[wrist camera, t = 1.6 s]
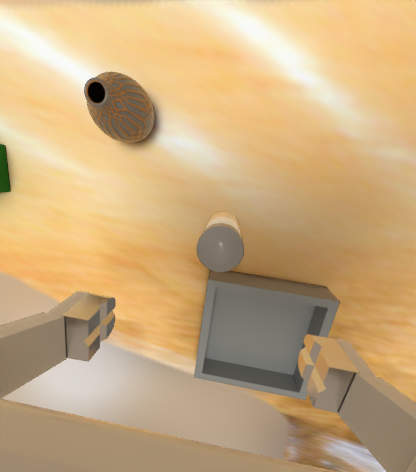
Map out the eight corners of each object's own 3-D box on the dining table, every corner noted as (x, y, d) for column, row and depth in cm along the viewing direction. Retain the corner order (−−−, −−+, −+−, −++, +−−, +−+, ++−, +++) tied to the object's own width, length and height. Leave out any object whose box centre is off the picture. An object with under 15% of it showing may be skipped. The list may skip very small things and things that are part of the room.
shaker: (241, 213, 29) (247, 231, 19) (236, 243, 31) (239, 275, 20) (210, 209, 30) (199, 223, 19) (206, 238, 31) (194, 268, 20)
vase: (171, 123, 27) (144, 97, 19) (135, 157, 29) (96, 147, 20) (138, 78, 26) (94, 28, 18) (102, 115, 28) (47, 86, 19)
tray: (326, 286, 31) (339, 301, 27) (297, 376, 36) (305, 400, 32) (210, 267, 32) (208, 279, 28) (197, 357, 37) (193, 377, 33)
